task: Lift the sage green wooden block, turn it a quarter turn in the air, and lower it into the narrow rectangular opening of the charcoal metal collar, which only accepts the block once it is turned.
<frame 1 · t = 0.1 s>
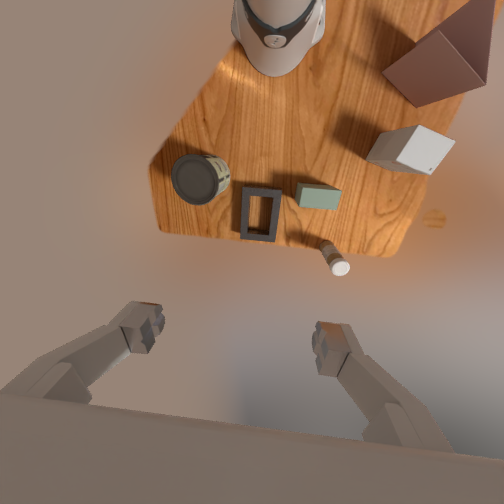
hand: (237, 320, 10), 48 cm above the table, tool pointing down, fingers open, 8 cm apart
keyed collar: (260, 212, 55), on the table
small box: (385, 152, 46), on the table
greeting card: (400, 84, 40), on the table
sage block: (312, 192, 52), on the table
sprinkles bottle: (326, 246, 59), on the table
coffee can: (212, 175, 52), on the table
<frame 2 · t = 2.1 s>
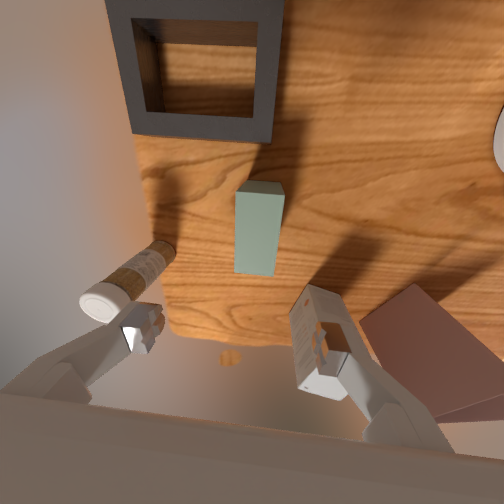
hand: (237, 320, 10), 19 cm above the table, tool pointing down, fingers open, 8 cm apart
keyed collar: (209, 85, 20), on the table
small box: (313, 303, 34), on the table
greeting card: (390, 303, 32), on the table
sage block: (261, 213, 27), on the table
sprinkles bottle: (164, 250, 32), on the table
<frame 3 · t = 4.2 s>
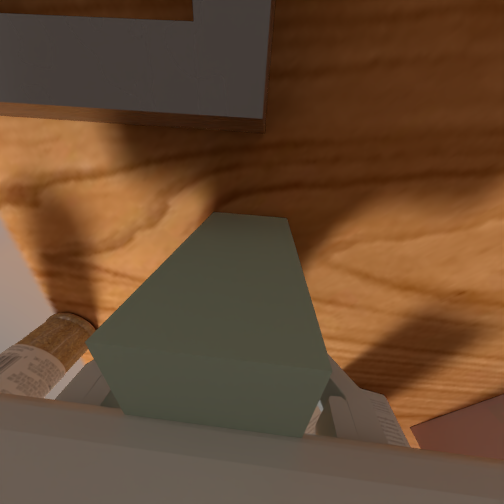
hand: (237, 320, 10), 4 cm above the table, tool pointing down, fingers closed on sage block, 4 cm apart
small box: (337, 402, 21), on the table
greeting card: (469, 408, 19), on the table
sage block: (246, 275, 13), on the table, touching gripper
sprinkles bottle: (79, 325, 18), on the table
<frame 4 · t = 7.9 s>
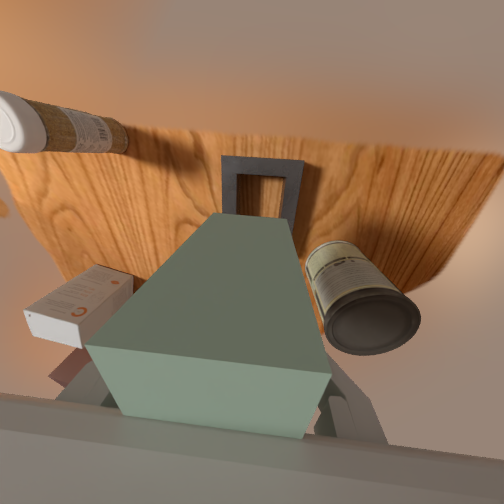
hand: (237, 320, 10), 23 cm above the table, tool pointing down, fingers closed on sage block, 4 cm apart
keyed collar: (259, 209, 30), on the table
small box: (116, 280, 40), on the table
greeting card: (138, 323, 46), on the table
sage block: (246, 276, 13), point 19 cm above the table, touching gripper
sprinkles bottle: (115, 137, 27), on the table
coffee can: (333, 264, 34), on the table
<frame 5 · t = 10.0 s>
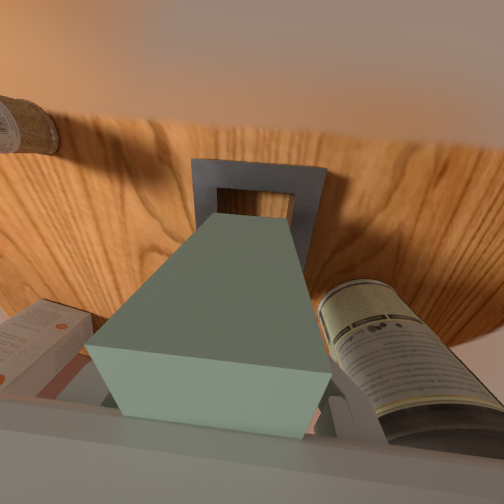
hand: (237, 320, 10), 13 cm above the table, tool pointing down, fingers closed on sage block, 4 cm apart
keyed collar: (254, 235, 21), on the table
small box: (70, 317, 31), on the table
greeting card: (105, 365, 37), on the table
sage block: (246, 276, 13), point 9 cm above the table, touching gripper
sprinkles bottle: (41, 130, 18), on the table
coffee can: (356, 308, 25), on the table
when the fingers open (6 cm above the table, at t = 11.8 s): sage block drops 2 cm, resting in keyed collar.
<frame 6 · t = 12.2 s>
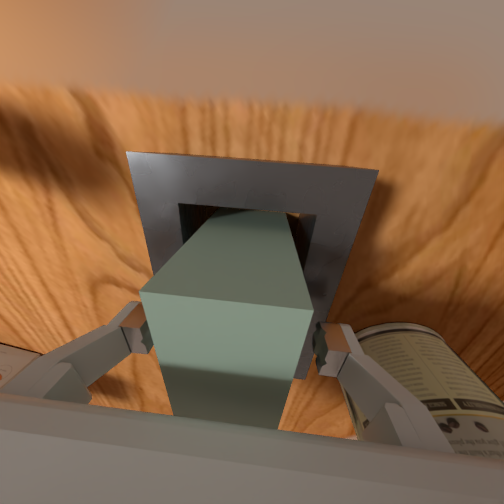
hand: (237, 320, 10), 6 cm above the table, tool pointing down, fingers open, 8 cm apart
keyed collar: (248, 264, 15), on the table
small box: (16, 357, 24), on the table
sage block: (248, 265, 15), resting in keyed collar
coffee can: (384, 355, 19), on the table
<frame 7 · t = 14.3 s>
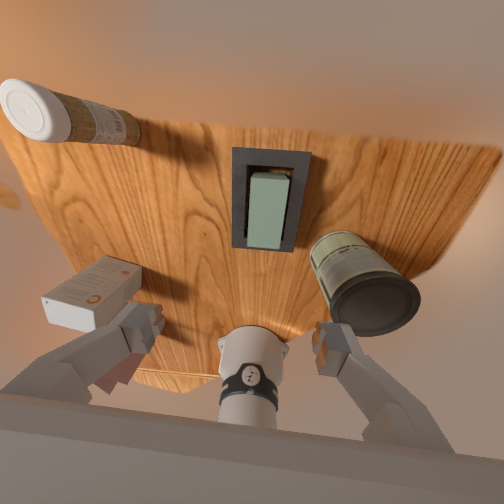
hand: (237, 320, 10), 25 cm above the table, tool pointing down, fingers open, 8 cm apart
keyed collar: (266, 200, 31), on the table
small box: (125, 271, 41), on the table
greeting card: (146, 313, 47), on the table
sage block: (266, 200, 31), resting in keyed collar
sprinkles bottle: (128, 129, 28), on the table
coffee can: (336, 254, 35), on the table
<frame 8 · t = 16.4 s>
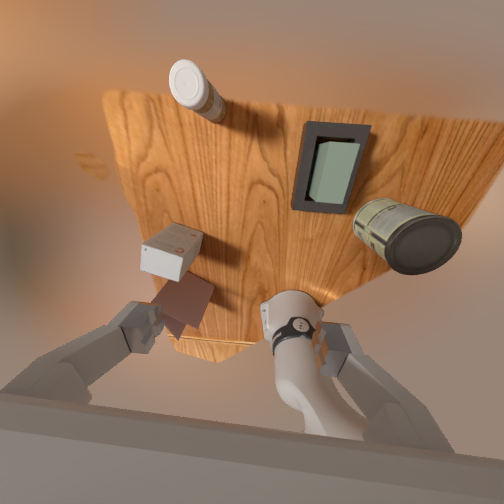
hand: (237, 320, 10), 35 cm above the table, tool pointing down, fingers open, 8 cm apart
keyed collar: (322, 170, 38), on the table
small box: (187, 237, 47), on the table
greeting card: (198, 279, 53), on the table
sage block: (322, 171, 38), resting in keyed collar
sprinkles bottle: (215, 109, 34), on the table
coffee can: (376, 220, 41), on the table
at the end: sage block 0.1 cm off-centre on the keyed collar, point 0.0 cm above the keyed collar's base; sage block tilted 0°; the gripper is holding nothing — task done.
